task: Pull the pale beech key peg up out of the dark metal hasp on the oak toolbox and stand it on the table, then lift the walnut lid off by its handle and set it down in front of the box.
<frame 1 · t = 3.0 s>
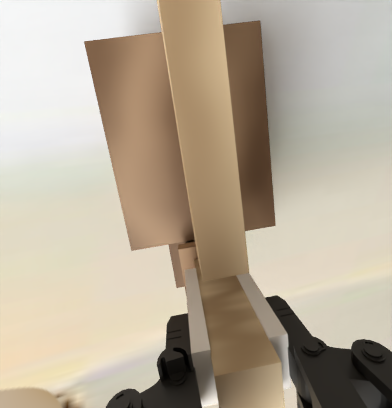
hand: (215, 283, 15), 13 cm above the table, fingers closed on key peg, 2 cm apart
key peg: (200, 237, 24), point 4 cm above the table, touching gripper, toolbox
lid: (189, 145, 18), point 8 cm above the table, touching toolbox
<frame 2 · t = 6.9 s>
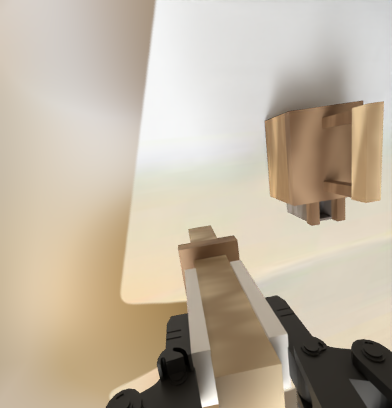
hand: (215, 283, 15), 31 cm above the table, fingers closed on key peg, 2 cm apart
key peg: (201, 237, 24), point 22 cm above the table, touching gripper
toolbox: (296, 155, 45), on the table
lid: (321, 155, 37), point 8 cm above the table, touching toolbox
when the fingers open (10 cm above the table, at t = 11.0 s): key peg stays where it is, on the table.
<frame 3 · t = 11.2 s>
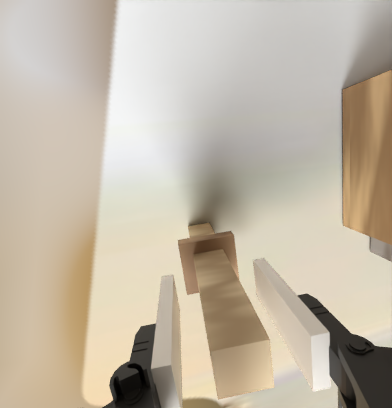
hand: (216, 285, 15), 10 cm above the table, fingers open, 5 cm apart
key peg: (200, 234, 25), on the table
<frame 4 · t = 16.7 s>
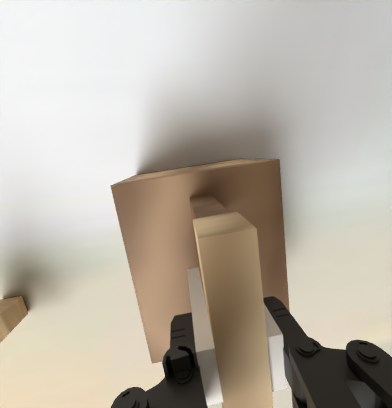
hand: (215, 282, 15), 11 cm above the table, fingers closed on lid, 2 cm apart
key peg: (14, 306, 26), on the table
toolbox: (198, 230, 26), on the table
lid: (208, 260, 19), point 8 cm above the table, touching gripper, toolbox
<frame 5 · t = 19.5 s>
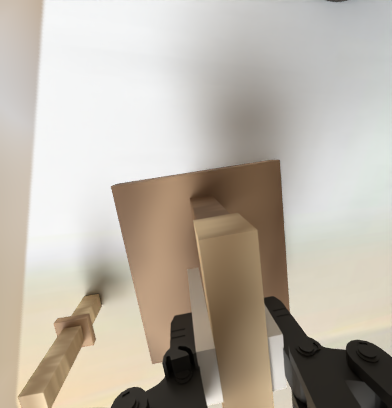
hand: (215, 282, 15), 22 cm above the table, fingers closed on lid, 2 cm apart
key peg: (93, 301, 38), on the table
lid: (208, 260, 19), point 18 cm above the table, touching gripper
when the fingers open (5 cm above the table, at t = 22.5 s): lid drops 2 cm, on the table.
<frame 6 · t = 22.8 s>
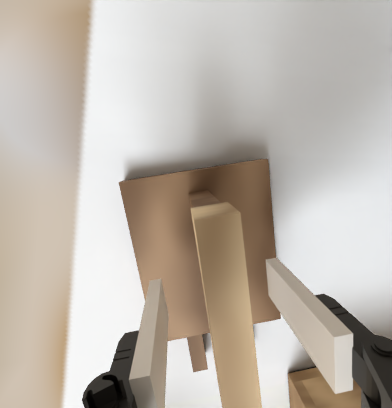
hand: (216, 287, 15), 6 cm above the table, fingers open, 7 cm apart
lid: (205, 250, 21), on the table
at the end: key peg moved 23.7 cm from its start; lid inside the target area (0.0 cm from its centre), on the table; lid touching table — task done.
